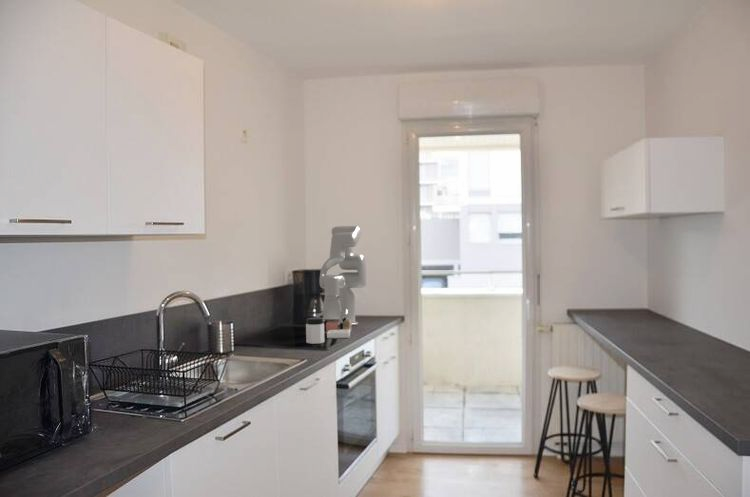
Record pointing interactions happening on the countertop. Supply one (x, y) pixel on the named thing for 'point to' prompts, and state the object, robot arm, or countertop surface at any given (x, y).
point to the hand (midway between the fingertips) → (332, 330)
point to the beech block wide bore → (347, 325)
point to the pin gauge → (346, 313)
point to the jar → (315, 330)
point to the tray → (338, 334)
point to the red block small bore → (331, 326)
